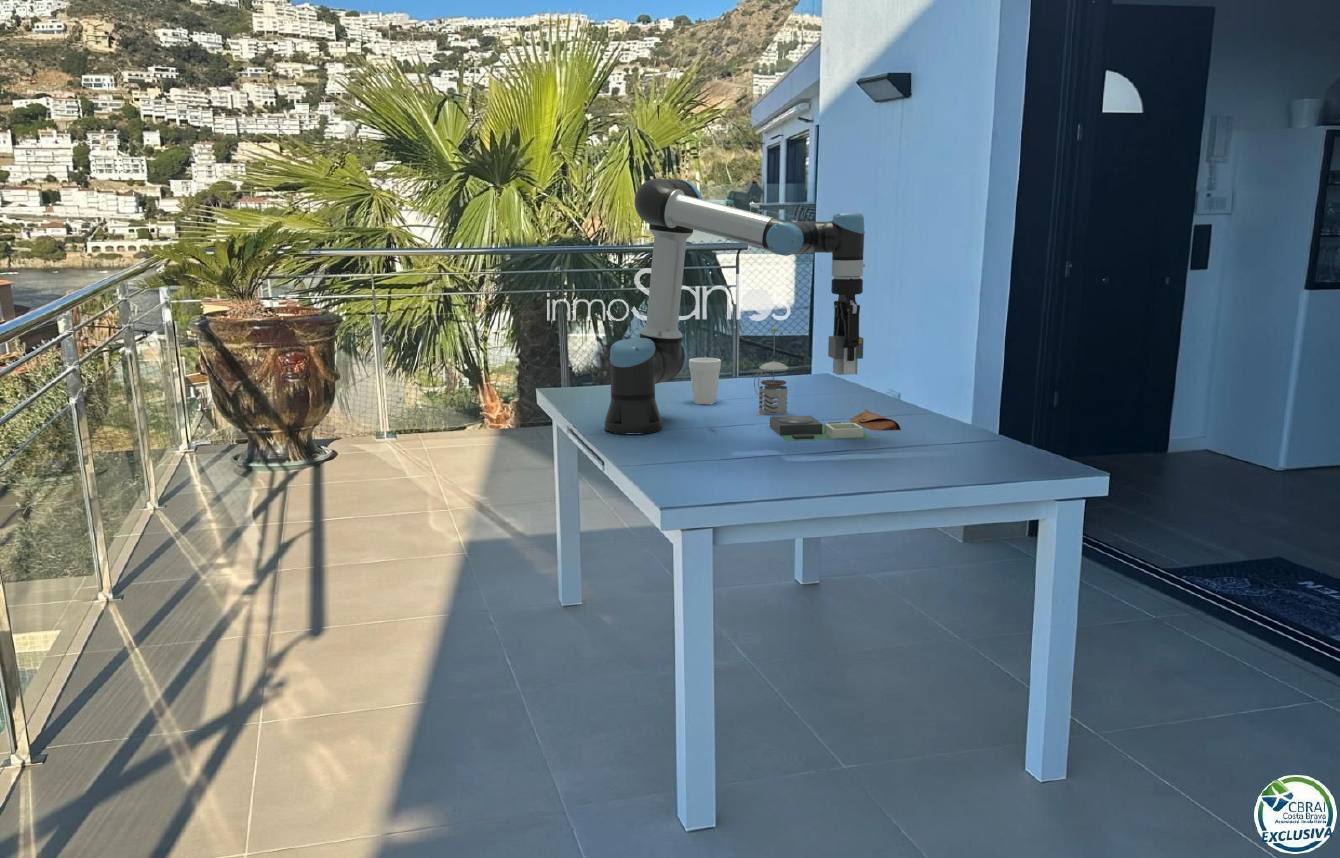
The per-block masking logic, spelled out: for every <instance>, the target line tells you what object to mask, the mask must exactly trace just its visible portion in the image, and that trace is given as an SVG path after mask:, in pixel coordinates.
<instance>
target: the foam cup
mask: <svg viewBox="0 0 1340 858" xmlns="http://www.w3.org/2000/svg"><path fill="white" fill-rule="evenodd" d="M688 368H689V373H690V380H691V388H692V395H693V401H694V402H695V403H697V404H696V405H699V404H710V403H714V402H715V403H716V401H717V394H718V386H719V379H720V371H721V369H722V360H721V359H720V358H716V357H695V358H690V359H688ZM695 403H694V404H695Z"/></svg>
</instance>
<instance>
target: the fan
mask: <svg viewBox="0 0 1340 858" xmlns="http://www.w3.org/2000/svg"><path fill="white" fill-rule="evenodd" d="M823 425H824V424H823V423H822V422H820V421H819V420H818V419H816V418H815V417H813V416H812V415H789V416H788V415H786V416H785V415H783V416H769V427H770V428H771V429H772V430H773V431H774V432H775V431H776V432H777V434H778V436H780V435H794V434H822V426H823ZM776 432H775V433H776Z"/></svg>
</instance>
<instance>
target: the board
mask: <svg viewBox="0 0 1340 858" xmlns="http://www.w3.org/2000/svg"><path fill="white" fill-rule="evenodd" d="M837 423H841V421H836V422H835V421H830V422H828V424H837ZM825 424H826V423H824V424H823V426H822V434H794V435H779V437H781V438H782V439H783V440H784V441H785V442H807V441H809V442H811V441H812V442H813V441H815V442H816V441H834V440H835V441H838V440H865V439H866V440H867V439H868V440H871V439H873V436H871V435H869V434H868V433H866V432H865V431H864V437H855V438H831V437H830V436H829V435H827V434H826V433H825V432H824V431H825ZM774 432H775V433H777V432H776V431H774ZM777 434H778V433H777Z"/></svg>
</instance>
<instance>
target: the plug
mask: <svg viewBox="0 0 1340 858" xmlns="http://www.w3.org/2000/svg"><path fill="white" fill-rule="evenodd" d="M827 345H828V347H827V349H828V350H827V352H828V353H827V357H829V358H831V359H832V374H835V375H837V376H839V375H840V376H841V375H842V376H845V375H846V376H847V375H850V374H843V365H844V348H843V345H845V336H833V335H828V344H827ZM863 358H864V337H862V336H859V346H856V351H855V374H854V375H858V366H859V365H858V363H859V362H858V361H859V359H860V360H861V359H863Z"/></svg>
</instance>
